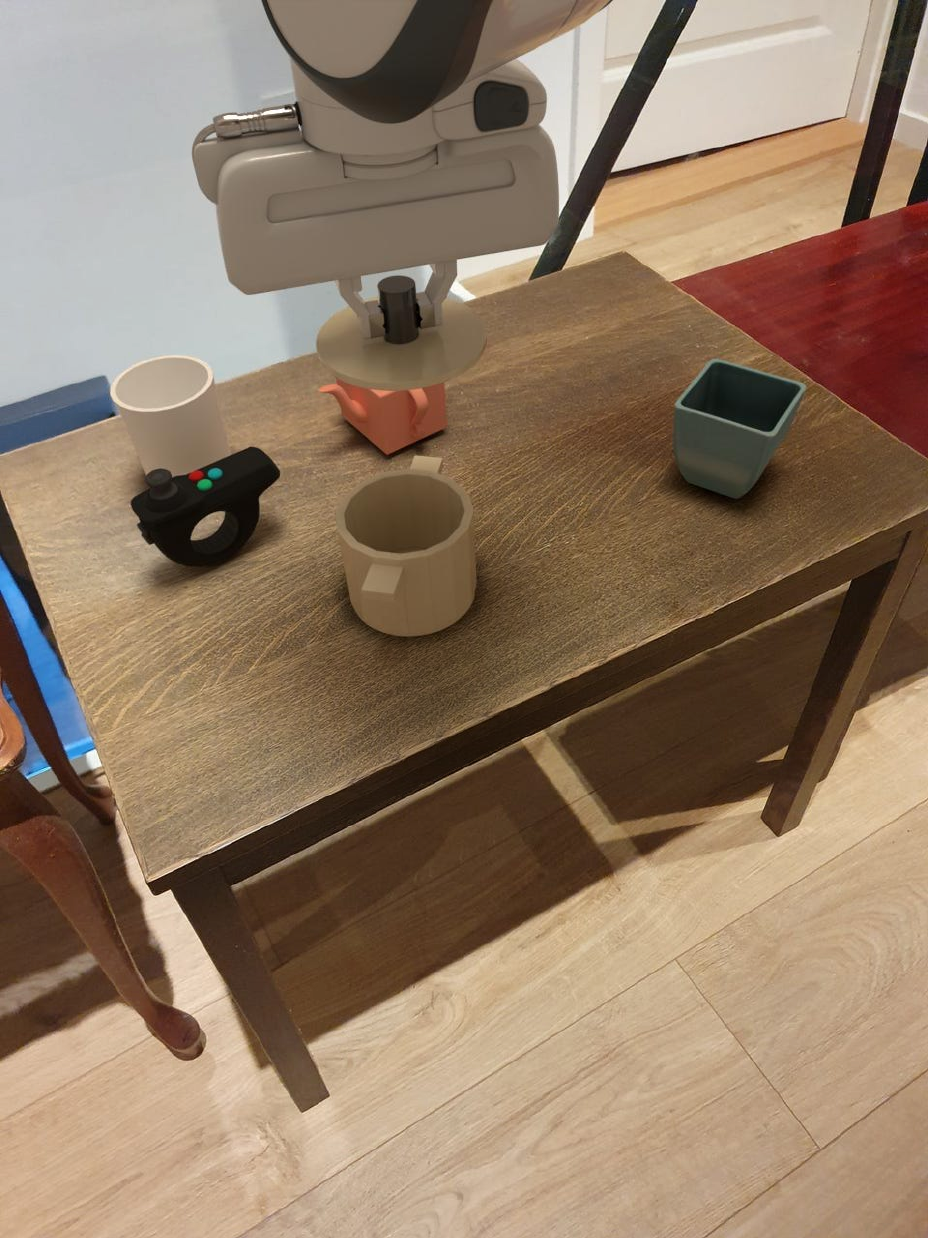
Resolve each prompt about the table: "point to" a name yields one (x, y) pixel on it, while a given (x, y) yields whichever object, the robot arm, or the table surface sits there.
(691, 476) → the flower pot
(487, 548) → the table surface
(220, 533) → the controller
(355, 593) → the pot
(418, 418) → the teapot
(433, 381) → the lid
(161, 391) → the mug
